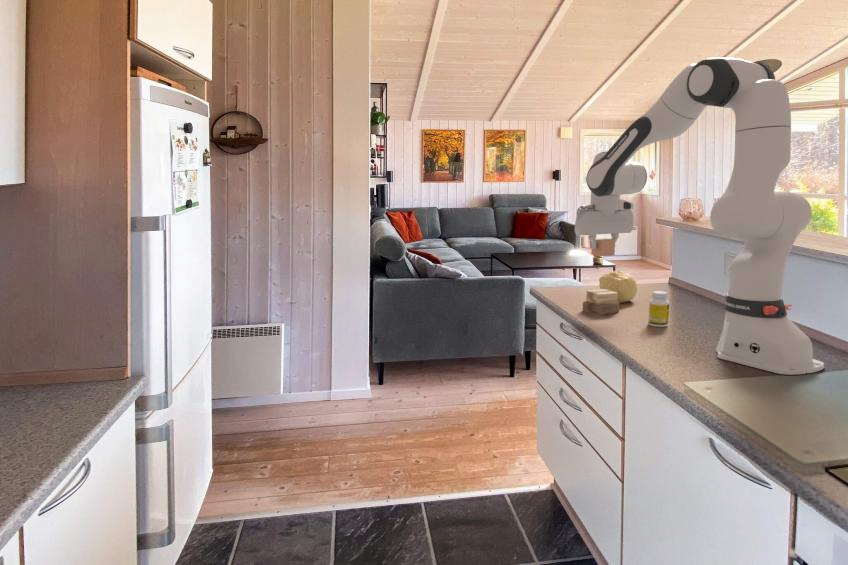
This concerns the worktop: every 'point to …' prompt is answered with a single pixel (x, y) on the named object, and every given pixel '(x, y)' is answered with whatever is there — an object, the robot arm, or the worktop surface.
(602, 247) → the cube
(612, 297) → the top block
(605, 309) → the bottom block
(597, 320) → the worktop surface
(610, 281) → the pale yellow rounded lump
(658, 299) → the supplement bottle
